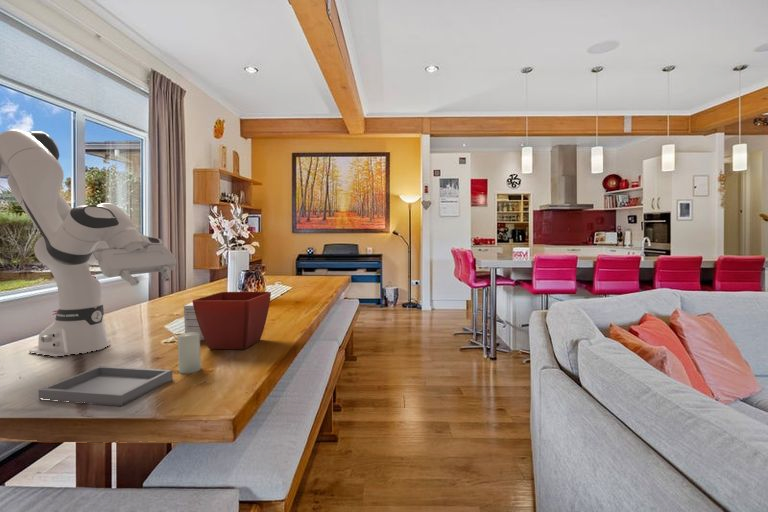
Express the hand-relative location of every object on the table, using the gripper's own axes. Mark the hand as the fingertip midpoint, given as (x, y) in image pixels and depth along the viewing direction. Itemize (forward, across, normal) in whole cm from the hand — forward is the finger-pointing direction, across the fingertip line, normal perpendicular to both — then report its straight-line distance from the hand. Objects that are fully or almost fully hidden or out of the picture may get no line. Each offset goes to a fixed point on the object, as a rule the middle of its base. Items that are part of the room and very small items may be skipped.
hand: (152, 281), depth 112 cm
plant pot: (+21, +25, +14) cm, 35 cm away
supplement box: (+7, +26, +28) cm, 38 cm away
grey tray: (+22, -16, +13) cm, 30 cm away
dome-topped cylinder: (+26, +1, +8) cm, 27 cm away
